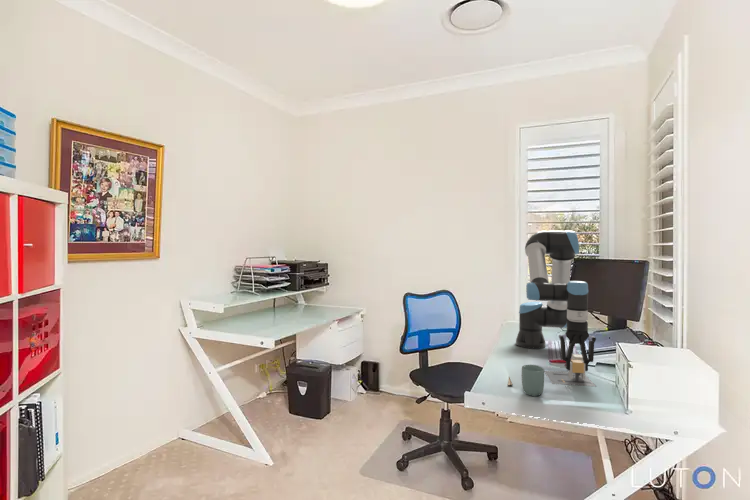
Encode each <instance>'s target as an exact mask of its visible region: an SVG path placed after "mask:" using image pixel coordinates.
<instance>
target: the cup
mask: <svg viewBox="0 0 750 500" xmlns="http://www.w3.org/2000/svg"><path fill="white" fill-rule="evenodd" d="M544 371H545V369H544V367H542V366H539V365H536V364H524V365H522V366H521V386H522V390H523V392H524V393H525V394H526V395H529V396H531V395H532V396H531V397H537V395H538V396H540V395H541V394H543V391H544V388H545V372H544Z"/></svg>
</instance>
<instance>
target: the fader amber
mask: <svg viewBox="0 0 750 500" xmlns="http://www.w3.org/2000/svg"><path fill="white" fill-rule="evenodd" d="M571 362H572V363H573V366H572V372H573V373H575V381H577V382H578V379H579V373H584V363H583V362H582V361H581V360H571Z"/></svg>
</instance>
